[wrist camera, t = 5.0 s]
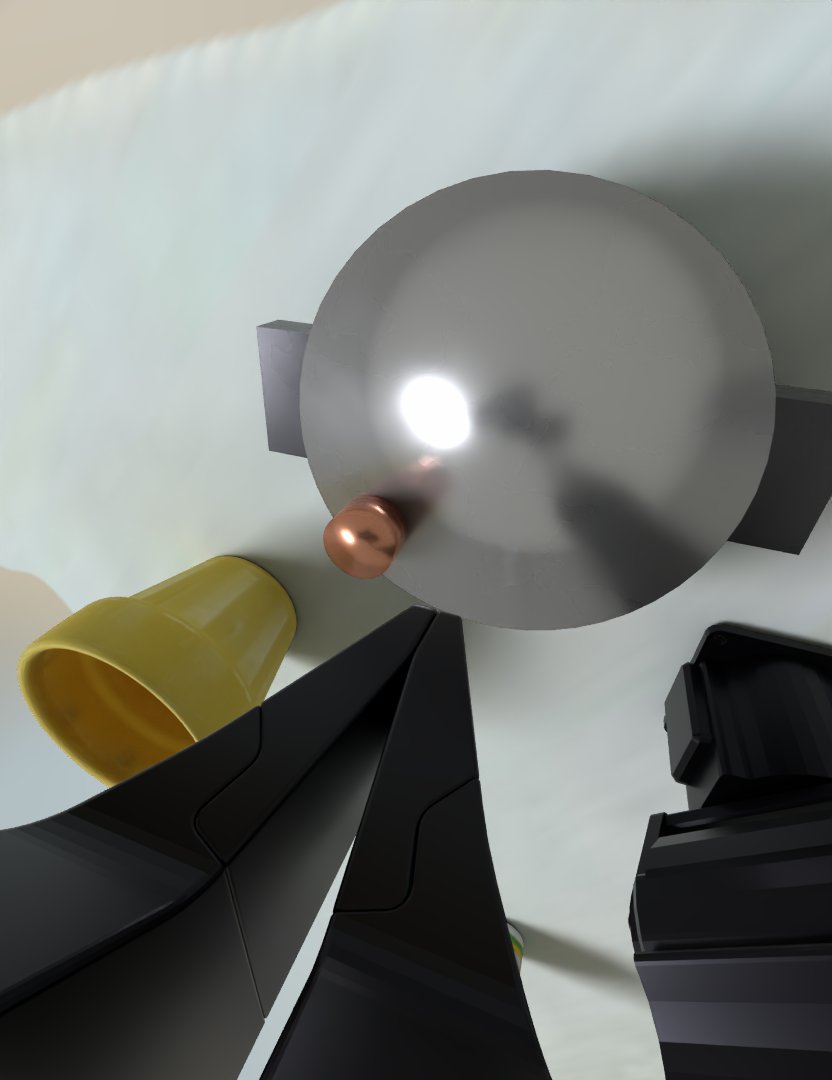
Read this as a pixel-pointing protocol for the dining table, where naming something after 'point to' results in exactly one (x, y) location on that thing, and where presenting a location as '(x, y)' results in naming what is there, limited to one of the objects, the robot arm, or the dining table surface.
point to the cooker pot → (770, 521)
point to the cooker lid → (535, 401)
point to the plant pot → (158, 666)
